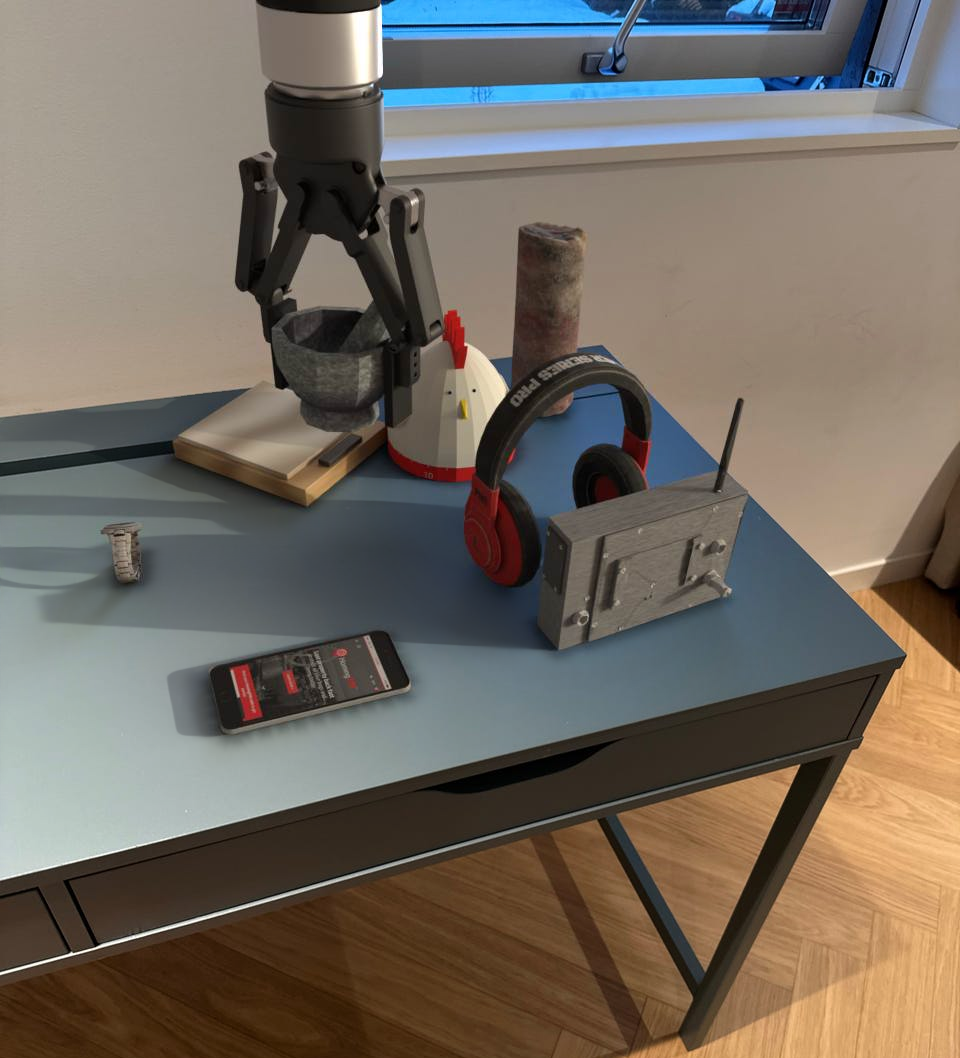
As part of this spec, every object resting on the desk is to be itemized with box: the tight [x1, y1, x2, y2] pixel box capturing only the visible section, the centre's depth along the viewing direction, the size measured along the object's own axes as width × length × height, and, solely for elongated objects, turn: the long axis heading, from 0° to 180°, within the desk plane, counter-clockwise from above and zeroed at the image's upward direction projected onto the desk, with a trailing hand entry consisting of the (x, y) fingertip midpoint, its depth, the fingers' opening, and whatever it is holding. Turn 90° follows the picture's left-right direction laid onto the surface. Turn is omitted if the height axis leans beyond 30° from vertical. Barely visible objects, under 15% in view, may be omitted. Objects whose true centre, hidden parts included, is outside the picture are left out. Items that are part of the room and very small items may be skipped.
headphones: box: [462, 351, 653, 589], centre depth 82 cm, size 18×10×20 cm, turn 122°
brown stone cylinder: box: [510, 221, 588, 418], centre depth 103 cm, size 8×7×20 cm
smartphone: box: [208, 629, 412, 735], centre depth 75 cm, size 7×1×15 cm
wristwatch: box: [100, 521, 143, 584], centre depth 83 cm, size 4×6×5 cm, turn 12°
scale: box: [172, 380, 388, 507], centre depth 100 cm, size 17×15×3 cm
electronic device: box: [536, 397, 749, 651], centre depth 76 cm, size 17×7×20 cm, turn 117°
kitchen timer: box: [387, 309, 516, 483], centre depth 97 cm, size 14×14×15 cm
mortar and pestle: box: [272, 299, 391, 432], centre depth 71 cm, size 11×9×12 cm
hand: (342, 400), depth 74 cm, fingers closed on mortar and pestle, 10 cm apart
